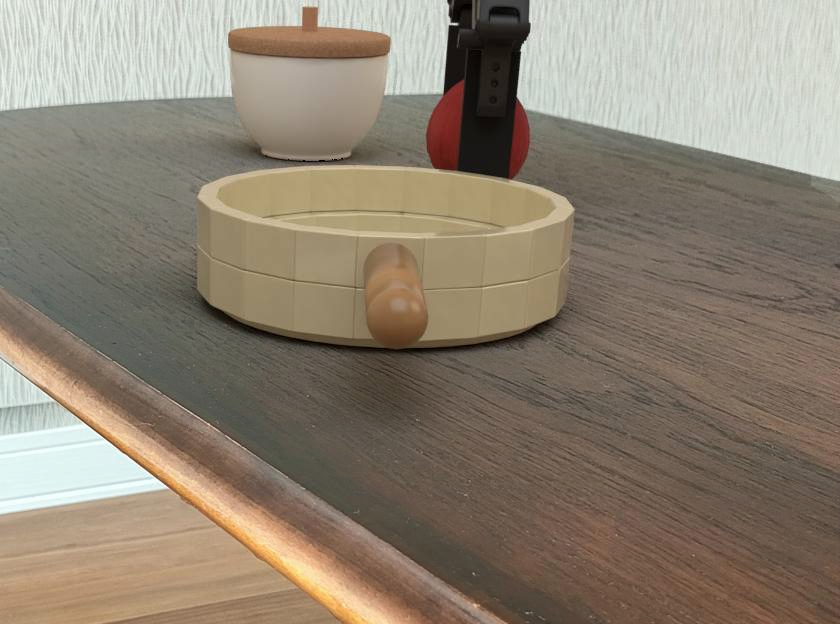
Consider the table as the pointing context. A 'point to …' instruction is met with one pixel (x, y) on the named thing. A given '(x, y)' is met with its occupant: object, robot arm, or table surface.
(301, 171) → the pan
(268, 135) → the trinket box
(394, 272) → the pan handle
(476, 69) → the robot arm
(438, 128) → the onion
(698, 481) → the table surface
